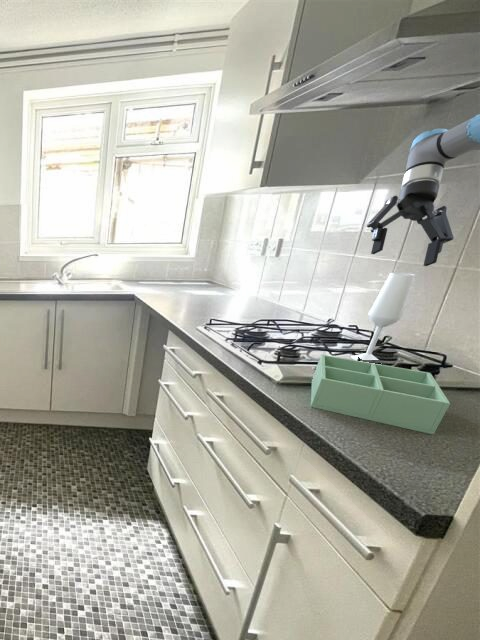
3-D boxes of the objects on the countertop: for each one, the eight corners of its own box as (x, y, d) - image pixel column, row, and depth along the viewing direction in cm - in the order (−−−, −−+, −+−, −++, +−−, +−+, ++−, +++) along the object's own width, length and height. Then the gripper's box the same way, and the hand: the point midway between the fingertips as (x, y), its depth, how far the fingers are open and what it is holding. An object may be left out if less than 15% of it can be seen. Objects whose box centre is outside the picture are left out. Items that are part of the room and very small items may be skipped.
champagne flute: (347, 354, 122) (381, 271, 112) (377, 358, 119) (414, 273, 110) (354, 361, 117) (390, 274, 107) (385, 365, 114) (425, 276, 104)
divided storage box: (416, 400, 94) (430, 372, 92) (433, 434, 81) (450, 403, 78) (311, 379, 105) (321, 354, 102) (310, 406, 91) (321, 378, 88)
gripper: (454, 204, 118) (438, 274, 117) (360, 184, 121) (344, 252, 120) (484, 189, 111) (467, 263, 109) (383, 169, 114) (366, 241, 112)
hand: (402, 258), depth 115 cm, fingers open, 13 cm apart
